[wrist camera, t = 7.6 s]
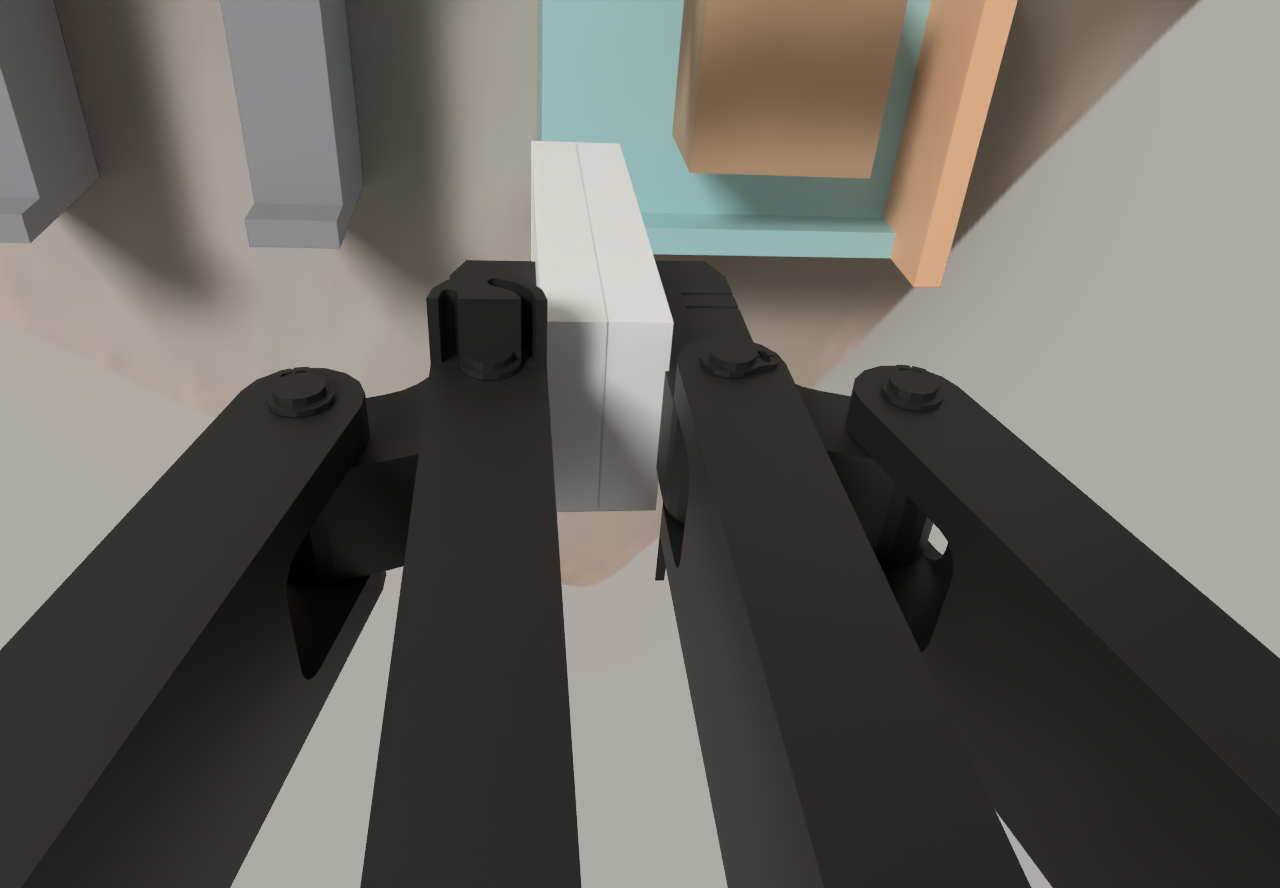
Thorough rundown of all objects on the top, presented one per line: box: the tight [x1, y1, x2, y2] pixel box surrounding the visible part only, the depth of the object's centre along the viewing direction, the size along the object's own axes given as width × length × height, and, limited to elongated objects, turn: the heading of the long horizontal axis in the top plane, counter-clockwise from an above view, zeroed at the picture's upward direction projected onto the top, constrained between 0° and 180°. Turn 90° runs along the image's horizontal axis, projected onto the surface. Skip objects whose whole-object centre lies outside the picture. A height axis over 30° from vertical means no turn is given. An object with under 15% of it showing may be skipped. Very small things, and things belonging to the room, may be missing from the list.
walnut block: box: [672, 0, 908, 178], centre depth 30 cm, size 6×6×4 cm
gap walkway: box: [0, 0, 1018, 287], centre depth 31 cm, size 14×34×9 cm, turn 87°
